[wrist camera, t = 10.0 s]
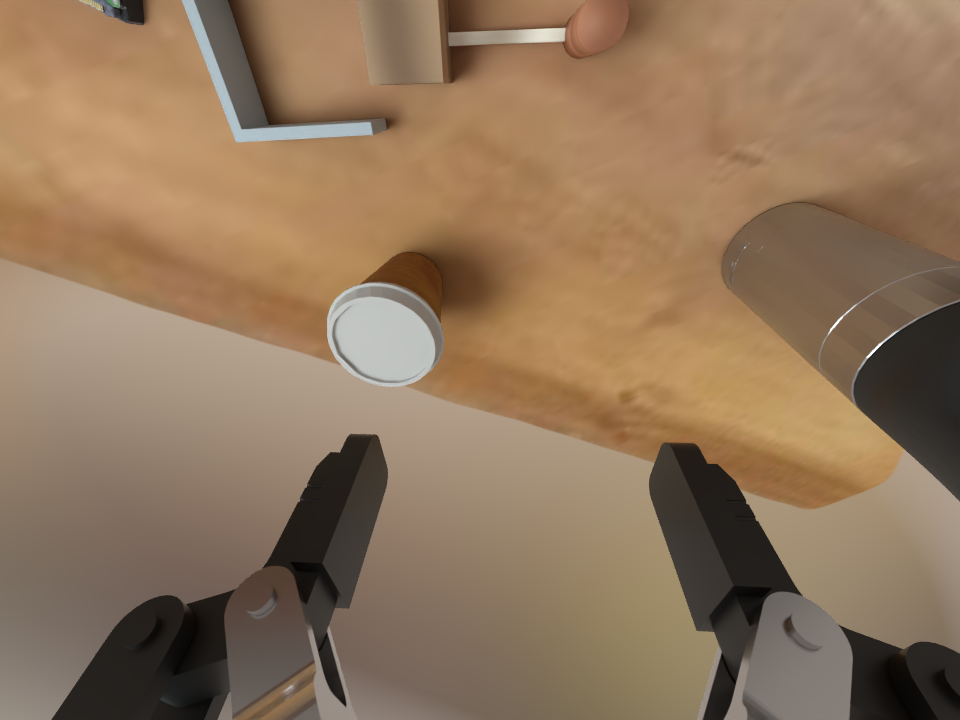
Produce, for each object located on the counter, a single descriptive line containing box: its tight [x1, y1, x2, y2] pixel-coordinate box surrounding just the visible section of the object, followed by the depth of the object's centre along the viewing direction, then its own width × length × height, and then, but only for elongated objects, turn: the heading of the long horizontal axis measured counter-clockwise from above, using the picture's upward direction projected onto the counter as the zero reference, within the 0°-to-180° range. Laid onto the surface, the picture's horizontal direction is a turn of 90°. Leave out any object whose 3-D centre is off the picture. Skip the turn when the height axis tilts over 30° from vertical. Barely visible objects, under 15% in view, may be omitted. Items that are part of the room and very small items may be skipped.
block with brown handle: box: [356, 0, 629, 85], centre depth 24 cm, size 16×5×8 cm, turn 92°
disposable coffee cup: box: [327, 252, 444, 387], centre depth 34 cm, size 10×10×12 cm
